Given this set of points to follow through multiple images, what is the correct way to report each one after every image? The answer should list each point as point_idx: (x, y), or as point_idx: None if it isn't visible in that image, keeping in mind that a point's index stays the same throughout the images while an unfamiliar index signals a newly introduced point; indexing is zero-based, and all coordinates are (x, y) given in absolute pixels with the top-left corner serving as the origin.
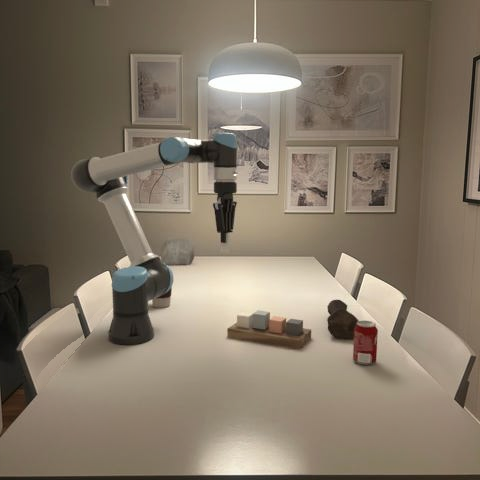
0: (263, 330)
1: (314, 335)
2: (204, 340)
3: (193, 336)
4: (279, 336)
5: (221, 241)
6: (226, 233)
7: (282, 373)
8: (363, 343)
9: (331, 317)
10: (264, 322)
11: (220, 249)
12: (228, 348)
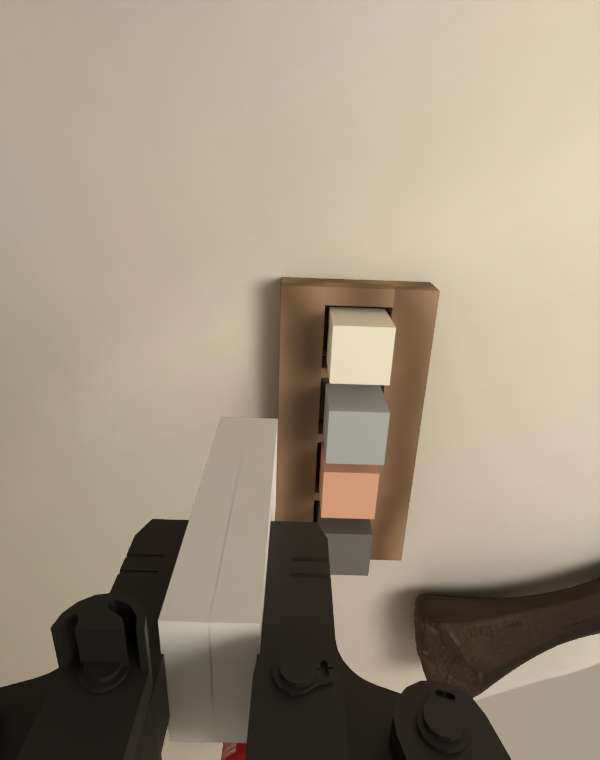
0: None
1: (424, 541)
2: (198, 204)
3: (220, 128)
4: (280, 494)
5: (138, 545)
6: (167, 718)
7: (77, 542)
8: None
9: (446, 639)
10: (324, 444)
11: (217, 432)
12: (168, 334)
